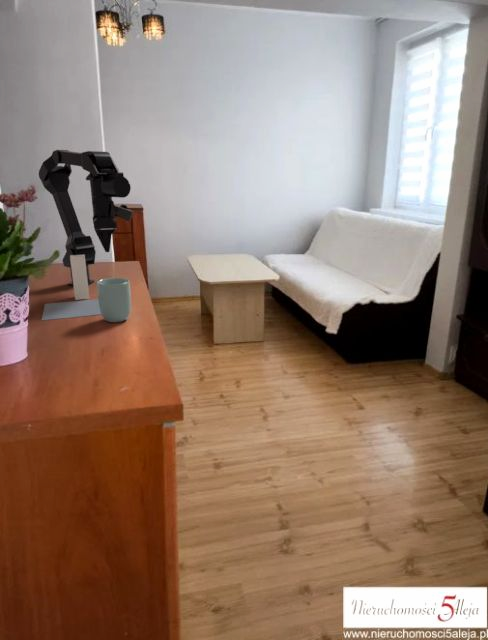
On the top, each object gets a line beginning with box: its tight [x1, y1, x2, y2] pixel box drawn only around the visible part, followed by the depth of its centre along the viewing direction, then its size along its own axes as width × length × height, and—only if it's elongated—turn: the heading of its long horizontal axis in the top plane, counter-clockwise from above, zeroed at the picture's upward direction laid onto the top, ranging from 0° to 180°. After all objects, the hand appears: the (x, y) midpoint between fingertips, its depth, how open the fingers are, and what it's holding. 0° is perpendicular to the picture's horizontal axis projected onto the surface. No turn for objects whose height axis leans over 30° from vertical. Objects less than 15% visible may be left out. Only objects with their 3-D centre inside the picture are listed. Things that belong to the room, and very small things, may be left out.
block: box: [70, 255, 91, 301], centre depth 134 cm, size 4×4×12 cm
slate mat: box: [40, 298, 102, 322], centre depth 125 cm, size 16×20×1 cm
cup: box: [96, 277, 132, 323], centre depth 113 cm, size 8×8×10 cm
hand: (106, 249), depth 139 cm, fingers open, 9 cm apart
